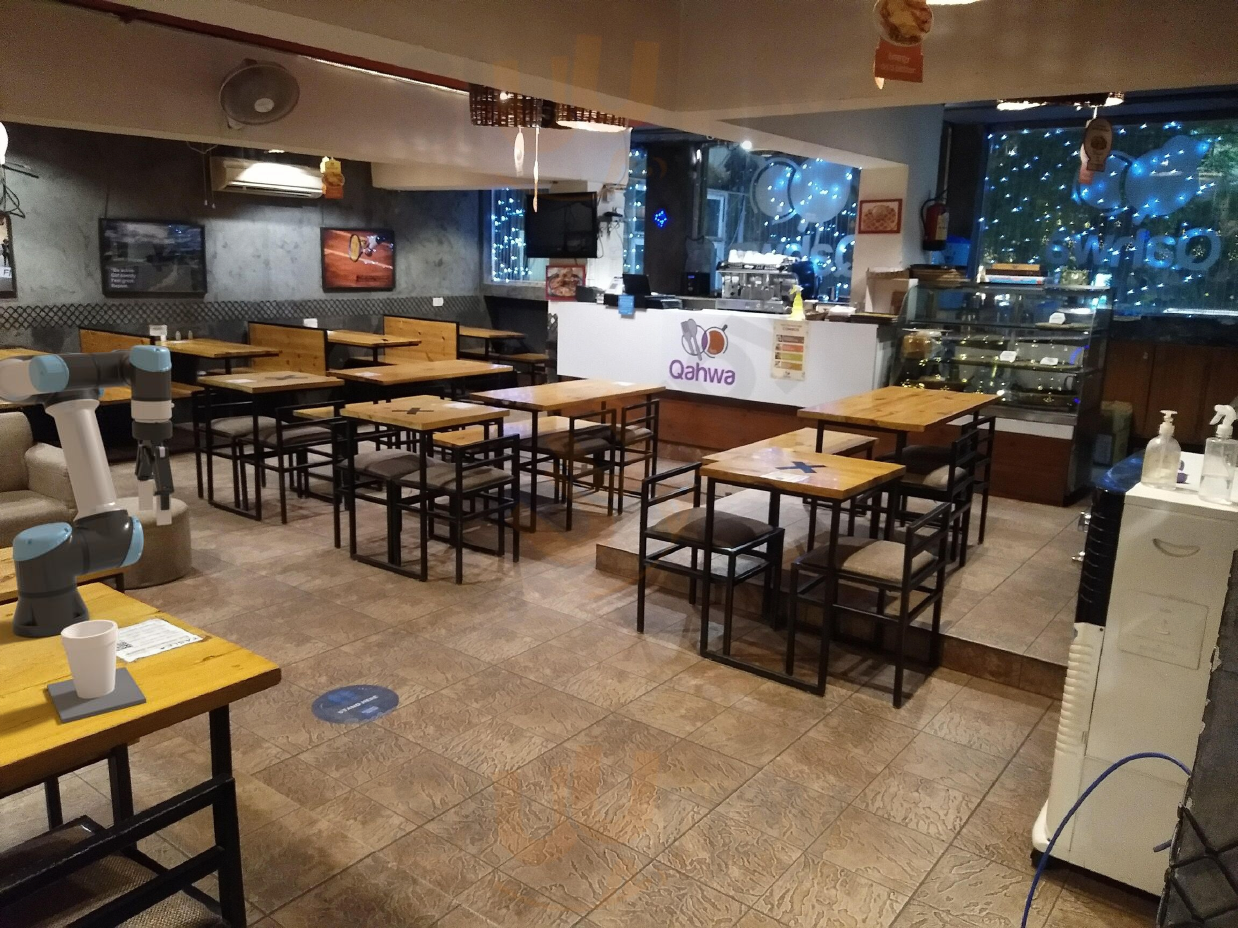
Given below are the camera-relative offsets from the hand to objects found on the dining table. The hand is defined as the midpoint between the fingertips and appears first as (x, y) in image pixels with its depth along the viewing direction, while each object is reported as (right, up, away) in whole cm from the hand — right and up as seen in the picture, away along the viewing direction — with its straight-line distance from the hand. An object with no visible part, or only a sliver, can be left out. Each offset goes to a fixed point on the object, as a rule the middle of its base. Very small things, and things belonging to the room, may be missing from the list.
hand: (154, 517), depth 194 cm
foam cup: (-3, -33, -17) cm, 38 cm away
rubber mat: (-3, -34, -17) cm, 38 cm away
